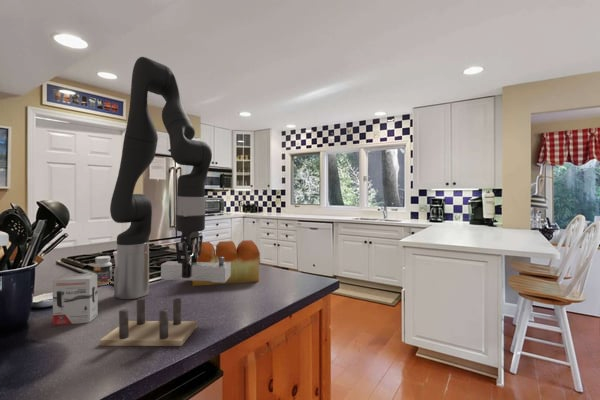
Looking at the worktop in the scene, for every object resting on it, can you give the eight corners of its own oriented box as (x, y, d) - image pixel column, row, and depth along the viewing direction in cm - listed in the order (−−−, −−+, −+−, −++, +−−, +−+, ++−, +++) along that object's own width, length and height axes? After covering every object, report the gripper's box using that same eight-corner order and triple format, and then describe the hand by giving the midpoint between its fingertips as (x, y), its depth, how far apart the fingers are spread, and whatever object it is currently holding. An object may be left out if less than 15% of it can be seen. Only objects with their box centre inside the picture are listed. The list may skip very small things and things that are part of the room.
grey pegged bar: (159, 280, 80) (159, 258, 80) (169, 274, 86) (169, 253, 86) (224, 282, 80) (225, 260, 80) (230, 276, 86) (230, 255, 86)
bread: (256, 273, 127) (256, 238, 127) (260, 281, 115) (260, 243, 115) (193, 277, 121) (193, 240, 120) (191, 286, 109) (191, 246, 108)
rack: (99, 345, 66) (99, 313, 66) (126, 325, 76) (126, 297, 76) (181, 345, 66) (181, 313, 66) (197, 326, 76) (197, 297, 76)
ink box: (51, 326, 76) (51, 279, 76) (62, 318, 81) (62, 274, 80) (90, 322, 78) (89, 277, 78) (98, 315, 83) (98, 272, 82)
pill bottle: (92, 287, 107) (92, 259, 107) (94, 282, 112) (94, 256, 112) (111, 284, 110) (111, 257, 110) (112, 280, 115) (112, 255, 115)
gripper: (187, 211, 89) (186, 268, 90) (165, 214, 75) (164, 282, 76) (212, 211, 89) (211, 269, 90) (195, 215, 75) (193, 283, 76)
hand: (189, 274), depth 83 cm, fingers closed on grey pegged bar, 4 cm apart
